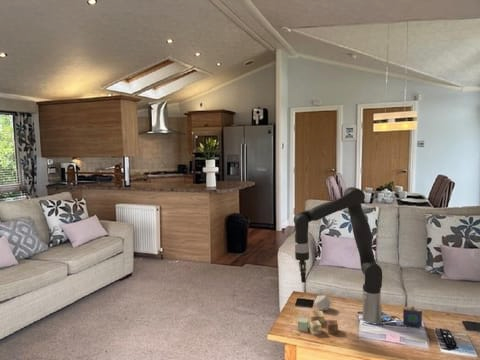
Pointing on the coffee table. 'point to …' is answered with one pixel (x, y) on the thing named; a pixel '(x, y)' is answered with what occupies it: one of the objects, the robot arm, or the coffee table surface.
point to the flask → (412, 317)
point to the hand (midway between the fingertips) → (303, 279)
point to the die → (322, 303)
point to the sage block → (303, 324)
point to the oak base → (317, 316)
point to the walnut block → (332, 326)
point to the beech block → (315, 327)
